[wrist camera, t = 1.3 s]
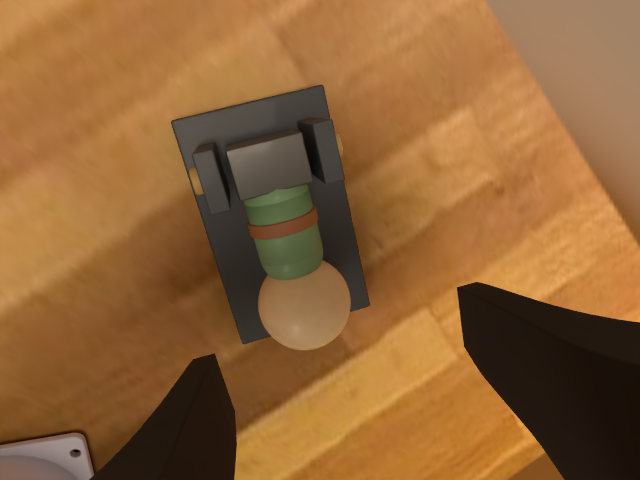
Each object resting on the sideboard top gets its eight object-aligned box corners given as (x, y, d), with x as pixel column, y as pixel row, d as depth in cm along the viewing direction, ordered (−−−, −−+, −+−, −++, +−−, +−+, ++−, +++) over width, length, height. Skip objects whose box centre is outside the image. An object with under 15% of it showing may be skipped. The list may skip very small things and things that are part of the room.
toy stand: (365, 299, 25) (397, 342, 20) (241, 336, 24) (246, 390, 20) (319, 85, 22) (345, 78, 17) (172, 120, 21) (157, 123, 16)
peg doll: (303, 125, 21) (346, 310, 24) (211, 147, 20) (267, 334, 23) (321, 128, 17) (370, 351, 20) (208, 157, 16) (276, 381, 19)
